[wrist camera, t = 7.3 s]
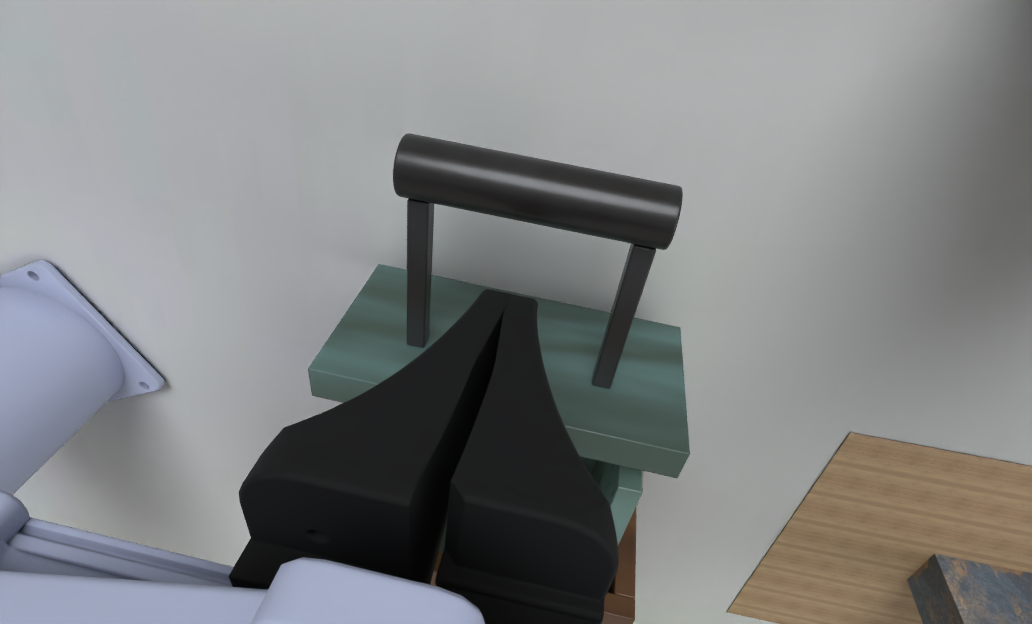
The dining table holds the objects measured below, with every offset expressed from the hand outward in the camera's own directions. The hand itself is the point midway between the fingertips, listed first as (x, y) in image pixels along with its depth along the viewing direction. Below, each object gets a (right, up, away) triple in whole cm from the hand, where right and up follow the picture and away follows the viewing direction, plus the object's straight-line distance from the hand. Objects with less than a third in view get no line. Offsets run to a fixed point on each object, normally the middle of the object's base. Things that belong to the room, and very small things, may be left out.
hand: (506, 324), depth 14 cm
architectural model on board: (+26, -13, +13) cm, 32 cm away
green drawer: (0, -1, +8) cm, 9 cm away
